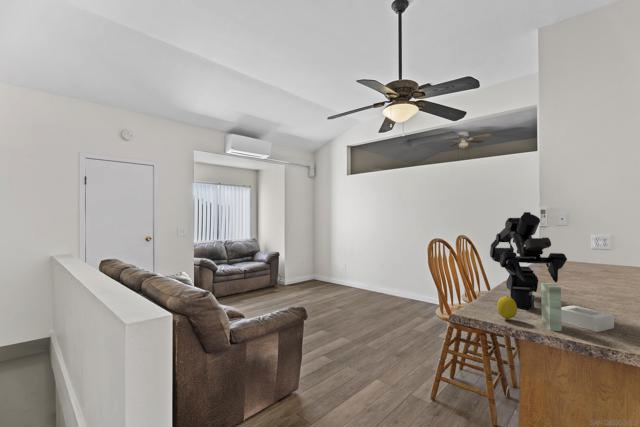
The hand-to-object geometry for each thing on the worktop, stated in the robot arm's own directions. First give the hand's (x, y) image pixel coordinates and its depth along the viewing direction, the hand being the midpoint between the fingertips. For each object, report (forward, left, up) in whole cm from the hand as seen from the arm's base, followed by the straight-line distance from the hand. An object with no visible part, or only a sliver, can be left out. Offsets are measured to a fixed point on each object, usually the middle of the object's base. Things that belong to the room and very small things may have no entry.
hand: (540, 281), depth 98 cm
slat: (+4, -5, -13) cm, 14 cm away
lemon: (-7, -8, -13) cm, 17 cm away
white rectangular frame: (+9, +7, -13) cm, 17 cm away
